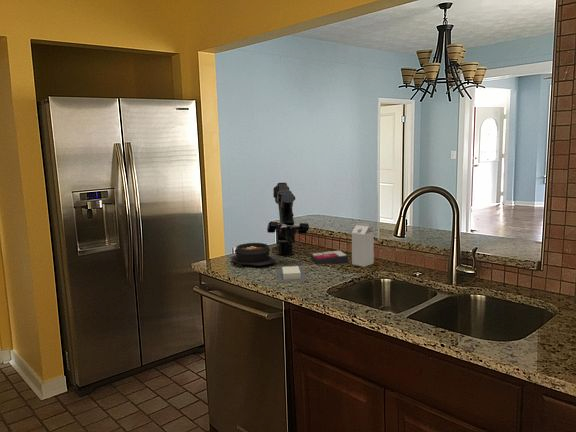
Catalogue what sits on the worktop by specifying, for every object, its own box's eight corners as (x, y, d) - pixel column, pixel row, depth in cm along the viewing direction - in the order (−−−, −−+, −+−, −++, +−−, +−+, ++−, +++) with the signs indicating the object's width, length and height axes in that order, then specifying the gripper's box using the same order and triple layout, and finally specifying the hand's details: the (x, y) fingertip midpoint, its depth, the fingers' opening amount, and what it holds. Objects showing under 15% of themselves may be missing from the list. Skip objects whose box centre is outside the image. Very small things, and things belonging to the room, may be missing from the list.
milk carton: (361, 261, 225) (361, 221, 222) (373, 264, 219) (373, 223, 217) (351, 264, 220) (351, 223, 217) (364, 267, 215) (364, 225, 212)
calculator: (310, 253, 230) (340, 249, 233) (311, 261, 231) (340, 257, 234) (316, 258, 219) (347, 254, 223) (317, 267, 220) (348, 263, 223)
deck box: (282, 266, 207) (283, 273, 196) (298, 266, 207) (300, 273, 197) (282, 272, 207) (283, 279, 197) (298, 272, 208) (300, 279, 197)
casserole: (285, 263, 224) (284, 246, 223) (254, 272, 212) (253, 253, 210) (251, 255, 242) (251, 239, 241) (221, 262, 230) (220, 245, 228)
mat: (275, 269, 214) (275, 269, 214) (302, 268, 214) (302, 267, 214) (277, 282, 194) (277, 281, 194) (307, 281, 195) (307, 280, 195)
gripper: (302, 224, 234) (305, 252, 225) (264, 222, 230) (266, 251, 221) (307, 212, 224) (311, 241, 216) (268, 210, 220) (270, 240, 212)
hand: (289, 244), depth 217 cm, fingers closed
